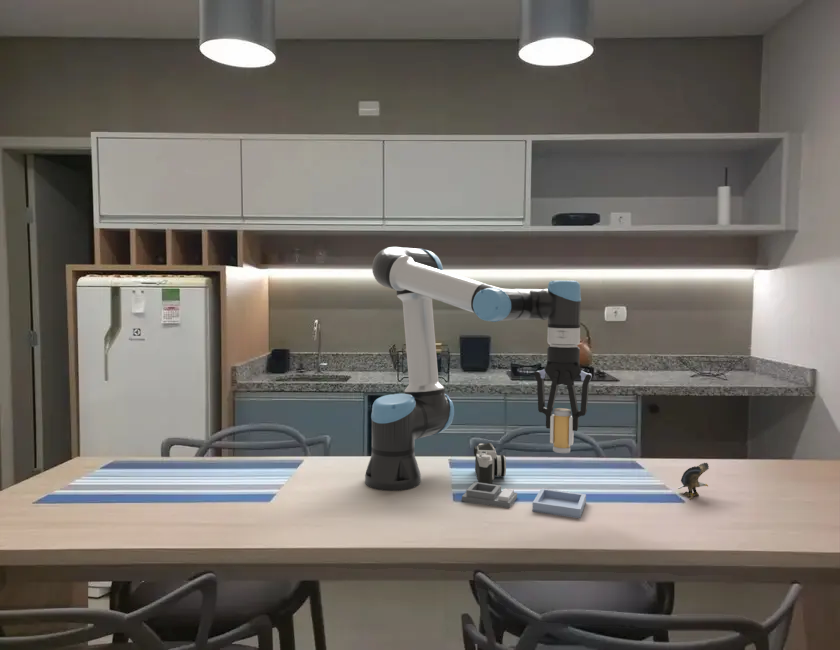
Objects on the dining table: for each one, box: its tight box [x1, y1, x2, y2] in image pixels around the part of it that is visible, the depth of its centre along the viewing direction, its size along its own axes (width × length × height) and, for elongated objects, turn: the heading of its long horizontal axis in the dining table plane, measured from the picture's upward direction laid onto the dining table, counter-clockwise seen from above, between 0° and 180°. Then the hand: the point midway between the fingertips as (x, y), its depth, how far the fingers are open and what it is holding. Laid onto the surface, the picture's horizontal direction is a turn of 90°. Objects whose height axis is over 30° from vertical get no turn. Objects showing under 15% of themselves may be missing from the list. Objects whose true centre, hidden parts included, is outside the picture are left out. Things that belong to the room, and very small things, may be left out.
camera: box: [473, 442, 507, 484], centre depth 163 cm, size 16×9×10 cm, turn 179°
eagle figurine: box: [677, 462, 710, 501], centre depth 150 cm, size 8×7×9 cm
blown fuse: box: [552, 407, 572, 454], centre depth 140 cm, size 4×4×10 cm
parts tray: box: [532, 487, 587, 519], centre depth 141 cm, size 11×11×2 cm
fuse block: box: [461, 481, 518, 509], centre depth 146 cm, size 12×8×3 cm, turn 68°
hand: (561, 442), depth 140 cm, fingers closed on blown fuse, 4 cm apart
